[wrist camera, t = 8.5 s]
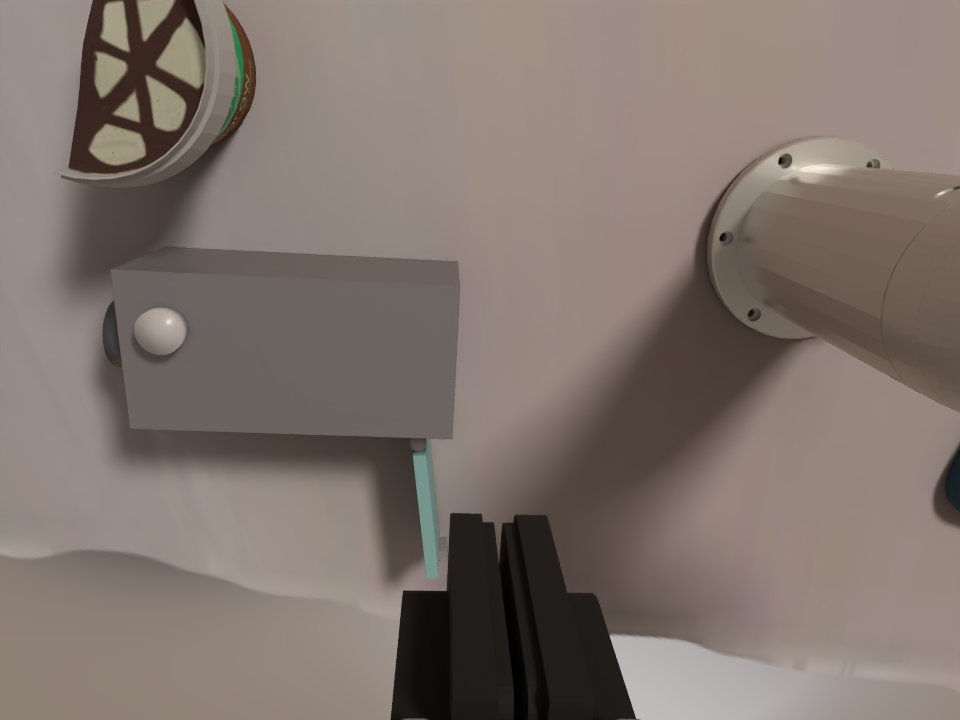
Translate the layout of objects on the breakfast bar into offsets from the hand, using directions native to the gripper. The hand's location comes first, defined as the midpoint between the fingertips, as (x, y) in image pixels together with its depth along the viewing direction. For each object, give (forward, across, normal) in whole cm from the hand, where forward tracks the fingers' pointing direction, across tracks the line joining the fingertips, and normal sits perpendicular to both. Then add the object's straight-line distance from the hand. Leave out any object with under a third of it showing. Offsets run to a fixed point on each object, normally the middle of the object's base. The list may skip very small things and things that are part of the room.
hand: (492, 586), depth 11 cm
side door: (+32, +1, +15) cm, 35 cm away
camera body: (+32, +9, +5) cm, 34 cm away
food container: (+32, +14, -9) cm, 36 cm away
